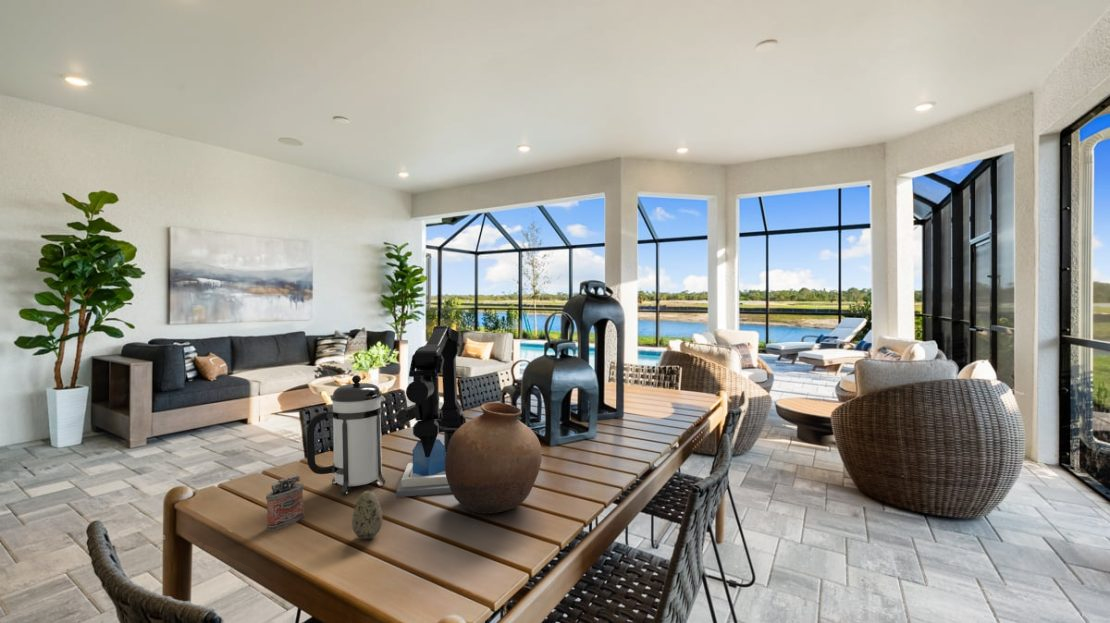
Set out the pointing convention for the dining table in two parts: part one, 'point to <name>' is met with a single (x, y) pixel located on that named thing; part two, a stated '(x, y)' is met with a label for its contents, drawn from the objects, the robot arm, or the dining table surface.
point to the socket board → (422, 483)
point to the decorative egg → (367, 516)
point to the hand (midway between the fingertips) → (429, 451)
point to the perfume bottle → (429, 459)
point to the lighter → (285, 503)
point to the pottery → (493, 460)
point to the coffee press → (352, 435)
